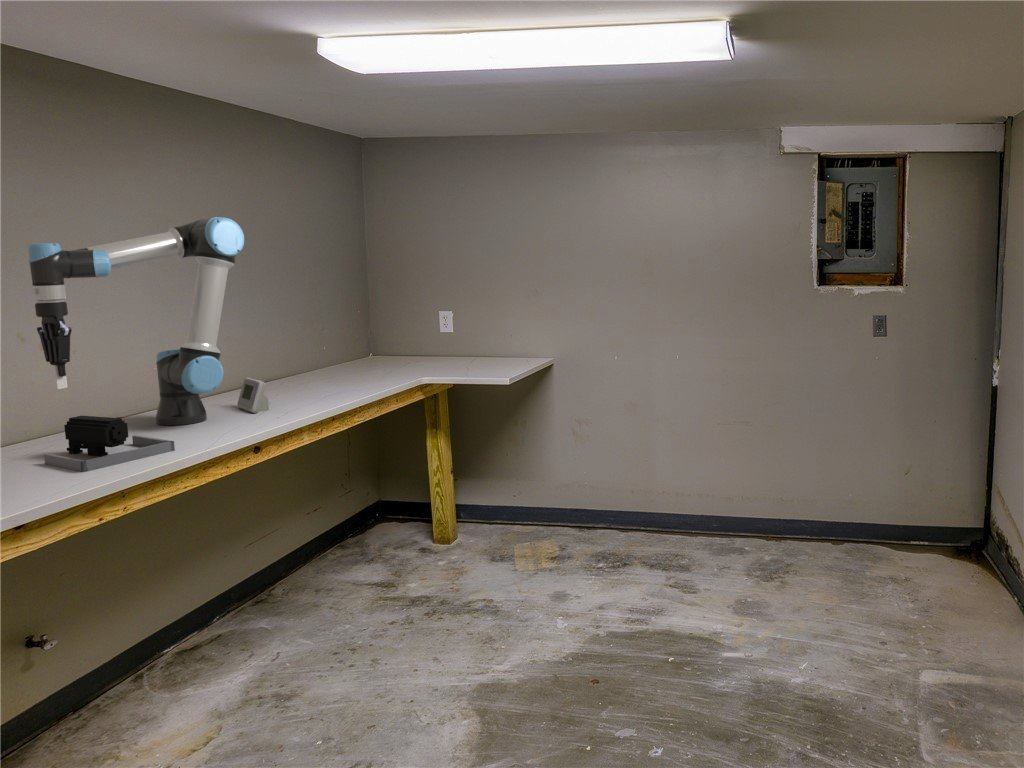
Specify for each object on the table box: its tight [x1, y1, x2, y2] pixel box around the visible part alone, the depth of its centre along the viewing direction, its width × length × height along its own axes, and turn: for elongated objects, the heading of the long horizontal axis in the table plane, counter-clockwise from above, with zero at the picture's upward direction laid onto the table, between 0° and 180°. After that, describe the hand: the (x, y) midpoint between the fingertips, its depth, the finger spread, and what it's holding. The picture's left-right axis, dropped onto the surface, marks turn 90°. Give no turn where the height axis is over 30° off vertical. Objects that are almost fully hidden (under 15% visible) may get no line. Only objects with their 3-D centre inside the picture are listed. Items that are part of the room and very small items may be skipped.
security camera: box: [63, 415, 129, 458], centre depth 213 cm, size 7×18×10 cm, turn 68°
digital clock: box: [236, 377, 270, 414], centre depth 274 cm, size 16×9×11 cm, turn 26°
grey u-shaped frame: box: [43, 434, 176, 473], centre depth 211 cm, size 25×17×2 cm
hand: (61, 388), depth 220 cm, fingers closed
